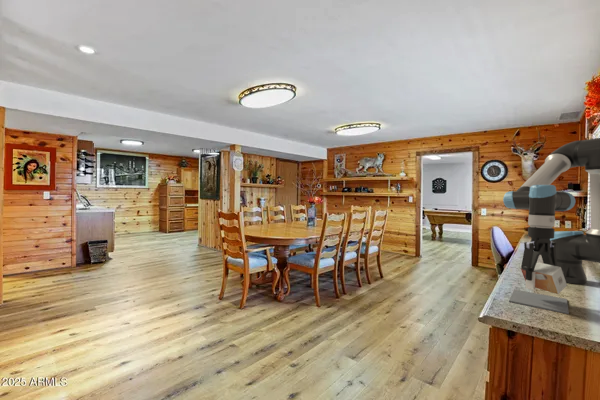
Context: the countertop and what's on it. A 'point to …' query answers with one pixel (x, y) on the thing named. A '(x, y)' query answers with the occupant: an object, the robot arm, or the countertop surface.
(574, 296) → the countertop surface
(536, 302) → the slate mat
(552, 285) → the small box
